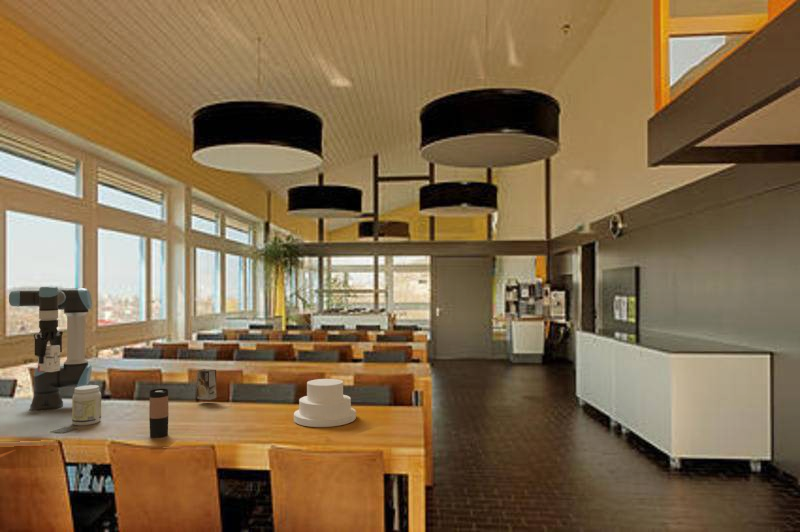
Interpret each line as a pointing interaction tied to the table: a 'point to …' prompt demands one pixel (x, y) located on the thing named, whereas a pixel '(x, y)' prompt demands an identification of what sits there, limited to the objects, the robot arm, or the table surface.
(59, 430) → the charcoal rubber mat
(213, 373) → the coffee box
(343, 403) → the cake
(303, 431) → the table surface
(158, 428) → the travel mug
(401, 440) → the table surface
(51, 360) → the ink box
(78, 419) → the supplement tub
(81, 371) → the robot arm
